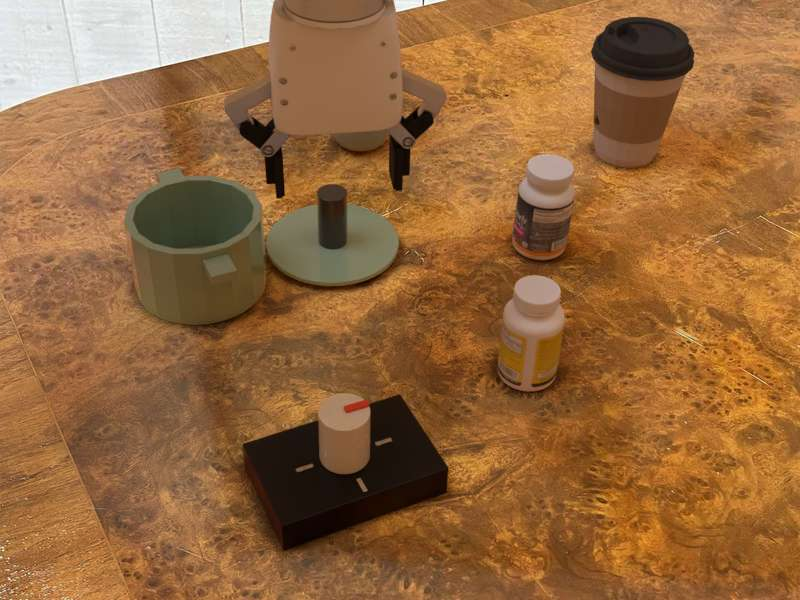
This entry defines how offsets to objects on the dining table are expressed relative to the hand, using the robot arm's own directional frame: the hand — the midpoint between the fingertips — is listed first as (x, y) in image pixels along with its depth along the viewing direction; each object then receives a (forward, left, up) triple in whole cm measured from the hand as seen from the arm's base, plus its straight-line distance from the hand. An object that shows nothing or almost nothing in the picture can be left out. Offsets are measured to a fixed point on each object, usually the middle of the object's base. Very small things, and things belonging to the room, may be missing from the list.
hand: (337, 185), depth 88 cm
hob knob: (-6, -16, -14) cm, 22 cm away
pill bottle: (+25, +5, -18) cm, 31 cm away
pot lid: (+5, +13, -17) cm, 22 cm away
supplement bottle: (+14, -11, -18) cm, 25 cm away
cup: (+16, +31, -18) cm, 39 cm away
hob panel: (-6, -16, -18) cm, 24 cm away
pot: (-9, +13, -18) cm, 24 cm away
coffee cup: (+44, +17, -18) cm, 50 cm away
